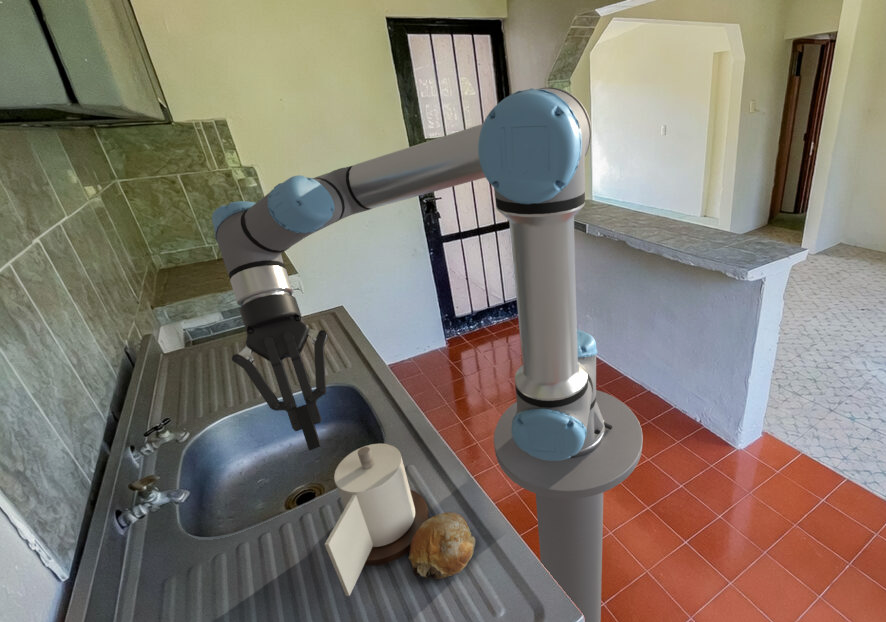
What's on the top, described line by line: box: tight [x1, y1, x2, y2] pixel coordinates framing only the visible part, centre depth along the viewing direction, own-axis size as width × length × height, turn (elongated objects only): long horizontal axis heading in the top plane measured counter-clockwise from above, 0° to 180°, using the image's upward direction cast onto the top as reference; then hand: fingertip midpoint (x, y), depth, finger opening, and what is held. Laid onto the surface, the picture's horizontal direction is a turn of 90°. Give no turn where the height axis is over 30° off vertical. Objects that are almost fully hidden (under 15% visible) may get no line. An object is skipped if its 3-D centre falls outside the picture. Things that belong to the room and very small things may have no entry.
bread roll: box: [407, 511, 476, 580], centre depth 72 cm, size 10×10×8 cm
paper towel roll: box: [324, 443, 415, 597], centre depth 71 cm, size 18×10×12 cm, turn 159°
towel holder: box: [358, 446, 430, 567], centre depth 74 cm, size 14×14×18 cm
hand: (315, 448), depth 67 cm, fingers closed
